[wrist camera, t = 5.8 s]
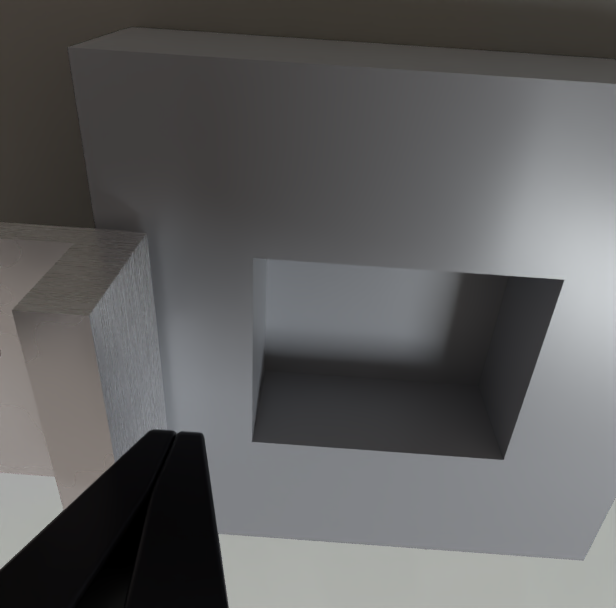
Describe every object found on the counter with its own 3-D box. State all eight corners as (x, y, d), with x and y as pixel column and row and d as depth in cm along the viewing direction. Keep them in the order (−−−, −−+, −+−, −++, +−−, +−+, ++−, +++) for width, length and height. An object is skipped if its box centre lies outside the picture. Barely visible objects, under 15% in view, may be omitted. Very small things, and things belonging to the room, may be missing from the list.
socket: (704, 65, 11) (819, 97, 8) (545, 467, 16) (583, 560, 14) (131, 27, 11) (67, 47, 8) (172, 440, 17) (141, 528, 14)
